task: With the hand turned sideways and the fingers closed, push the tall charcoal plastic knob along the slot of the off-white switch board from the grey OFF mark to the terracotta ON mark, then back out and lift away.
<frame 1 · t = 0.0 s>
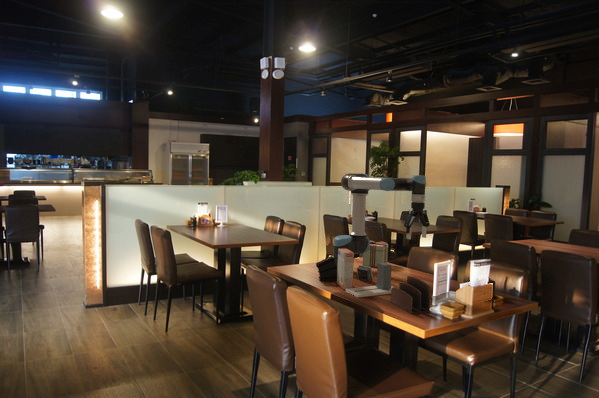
hand: (416, 238, 252), 28 cm above the table, tool pointing down, fingers open, 13 cm apart
switch board: (373, 292, 237), on the table
cracker box: (344, 286, 247), on the table
gift box: (374, 264, 311), on the table
letter holder: (409, 307, 212), on the table
black piece: (326, 281, 259), on the table
pepper mill: (478, 294, 239), on the table
slider knob: (384, 275, 240), point 8 cm above the table, slide at 0.0 cm
electrical switch: (364, 281, 262), on the table
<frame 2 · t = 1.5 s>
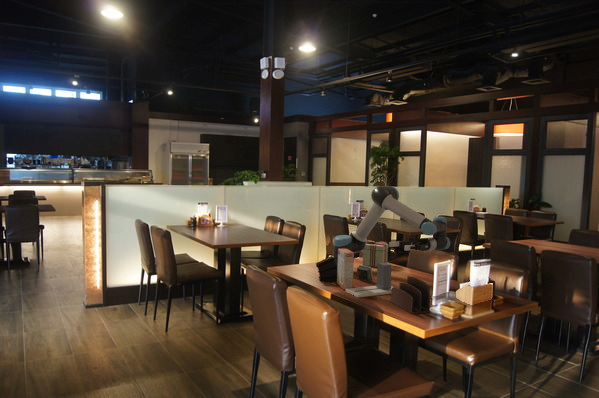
hand: (397, 246, 243), 25 cm above the table, tool horizontal, fingers open, 13 cm apart
nothing on the table moved.
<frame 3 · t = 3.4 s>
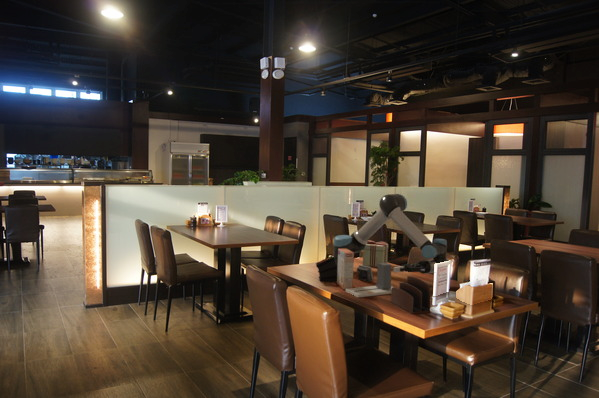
hand: (394, 269, 242), 11 cm above the table, tool horizontal, fingers closed
nothing on the table moved.
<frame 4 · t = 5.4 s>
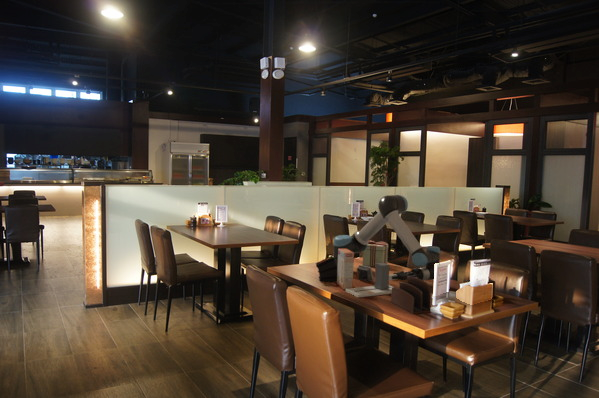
hand: (386, 277, 240), 7 cm above the table, tool horizontal, fingers closed
slider knob: (381, 275, 239), point 9 cm above the table, slide at 1.4 cm, touching gripper
everything else where it was.
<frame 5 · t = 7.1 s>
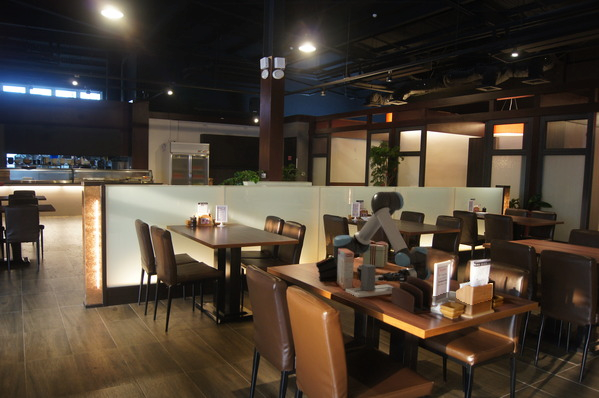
hand: (372, 278, 236), 7 cm above the table, tool horizontal, fingers closed
slider knob: (368, 277, 235), point 9 cm above the table, slide at 10.7 cm, touching gripper
everything else where it was.
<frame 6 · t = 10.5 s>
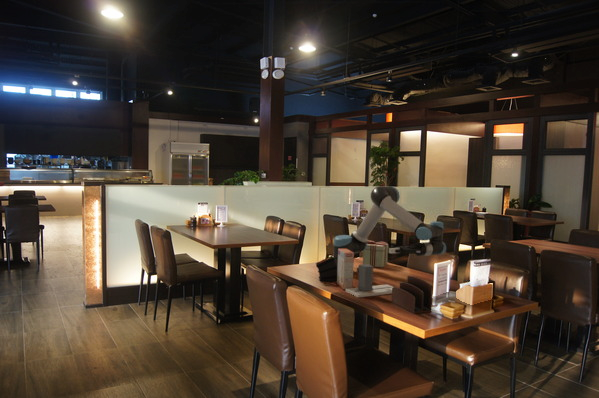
hand: (389, 250, 240), 22 cm above the table, tool horizontal, fingers closed
slider knob: (365, 277, 235), point 8 cm above the table, slide at 12.3 cm
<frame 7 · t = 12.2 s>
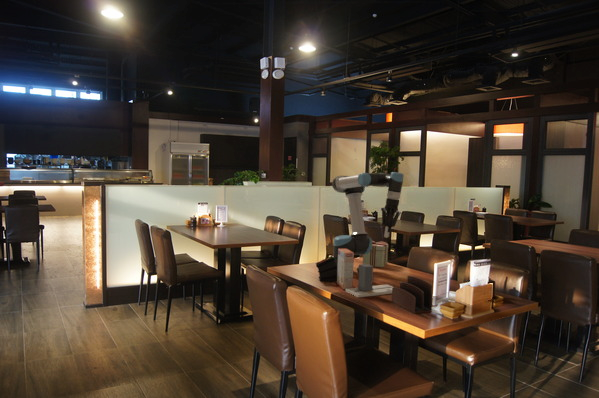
hand: (386, 237, 259), 27 cm above the table, tool pointing down, fingers closed
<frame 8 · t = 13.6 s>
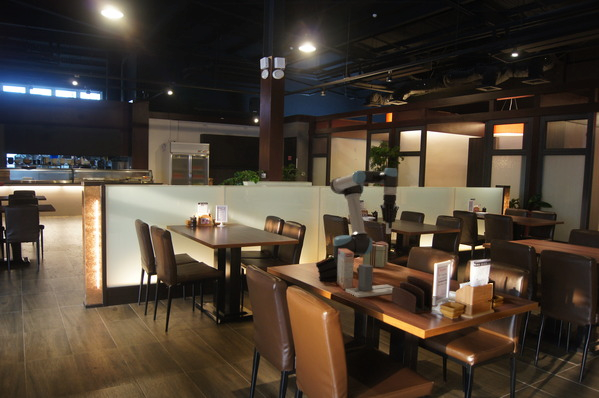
hand: (388, 233, 258), 29 cm above the table, tool pointing down, fingers closed
at the end: slider knob slide at 12.3 cm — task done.
